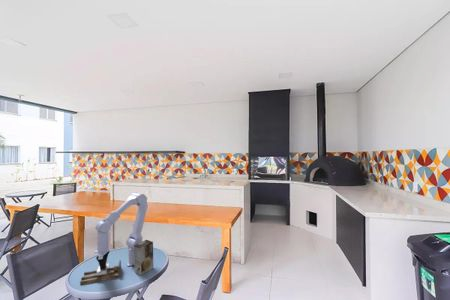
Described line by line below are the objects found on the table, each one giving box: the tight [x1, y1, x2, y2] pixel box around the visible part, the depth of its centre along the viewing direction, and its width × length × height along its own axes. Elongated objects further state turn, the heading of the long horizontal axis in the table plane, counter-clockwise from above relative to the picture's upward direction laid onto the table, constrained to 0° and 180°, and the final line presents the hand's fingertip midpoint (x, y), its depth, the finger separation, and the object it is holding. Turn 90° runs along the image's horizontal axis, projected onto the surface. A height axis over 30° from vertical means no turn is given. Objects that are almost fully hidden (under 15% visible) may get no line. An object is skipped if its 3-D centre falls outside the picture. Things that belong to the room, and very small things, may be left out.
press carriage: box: [96, 263, 110, 276], centre depth 122 cm, size 5×8×6 cm, turn 20°
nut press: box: [79, 259, 122, 286], centre depth 122 cm, size 19×10×6 cm, turn 110°
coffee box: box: [134, 239, 154, 276], centre depth 128 cm, size 9×6×16 cm
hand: (103, 266), depth 122 cm, fingers closed on press carriage, 3 cm apart
